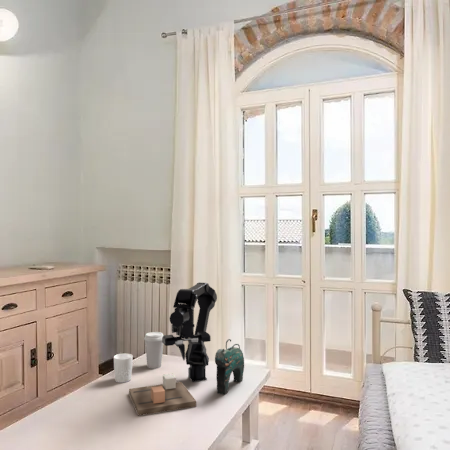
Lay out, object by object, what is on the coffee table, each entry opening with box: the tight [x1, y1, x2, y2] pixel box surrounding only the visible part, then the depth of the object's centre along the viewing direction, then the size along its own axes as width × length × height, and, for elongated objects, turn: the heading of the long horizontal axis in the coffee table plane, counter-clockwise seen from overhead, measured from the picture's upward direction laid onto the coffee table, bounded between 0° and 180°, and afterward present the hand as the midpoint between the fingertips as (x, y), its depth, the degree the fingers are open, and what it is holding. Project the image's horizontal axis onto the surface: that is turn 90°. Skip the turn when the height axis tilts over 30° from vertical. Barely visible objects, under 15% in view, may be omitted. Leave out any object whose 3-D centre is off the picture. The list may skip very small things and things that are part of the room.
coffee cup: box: [143, 331, 164, 370], centre depth 194 cm, size 10×10×15 cm
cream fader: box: [162, 373, 177, 389], centre depth 164 cm, size 4×5×4 cm
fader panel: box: [128, 381, 197, 417], centre depth 157 cm, size 21×20×2 cm
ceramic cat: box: [214, 338, 245, 396], centre depth 170 cm, size 20×6×20 cm, turn 152°
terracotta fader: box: [151, 386, 165, 404], centre depth 152 cm, size 4×5×4 cm
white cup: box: [113, 353, 134, 384], centre depth 177 cm, size 8×8×10 cm
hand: (186, 359), depth 167 cm, fingers closed
